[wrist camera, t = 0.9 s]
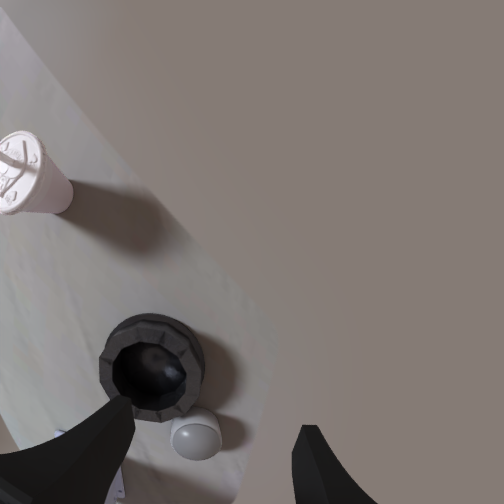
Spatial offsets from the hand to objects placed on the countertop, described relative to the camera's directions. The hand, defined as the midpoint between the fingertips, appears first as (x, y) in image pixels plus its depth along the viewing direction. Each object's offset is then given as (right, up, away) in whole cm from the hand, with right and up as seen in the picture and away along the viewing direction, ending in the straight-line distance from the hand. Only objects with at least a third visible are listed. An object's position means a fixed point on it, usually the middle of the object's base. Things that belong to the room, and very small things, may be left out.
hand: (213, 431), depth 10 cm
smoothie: (-18, +13, +14) cm, 26 cm away
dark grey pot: (-8, -3, +16) cm, 18 cm away
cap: (-4, -11, +16) cm, 20 cm away
